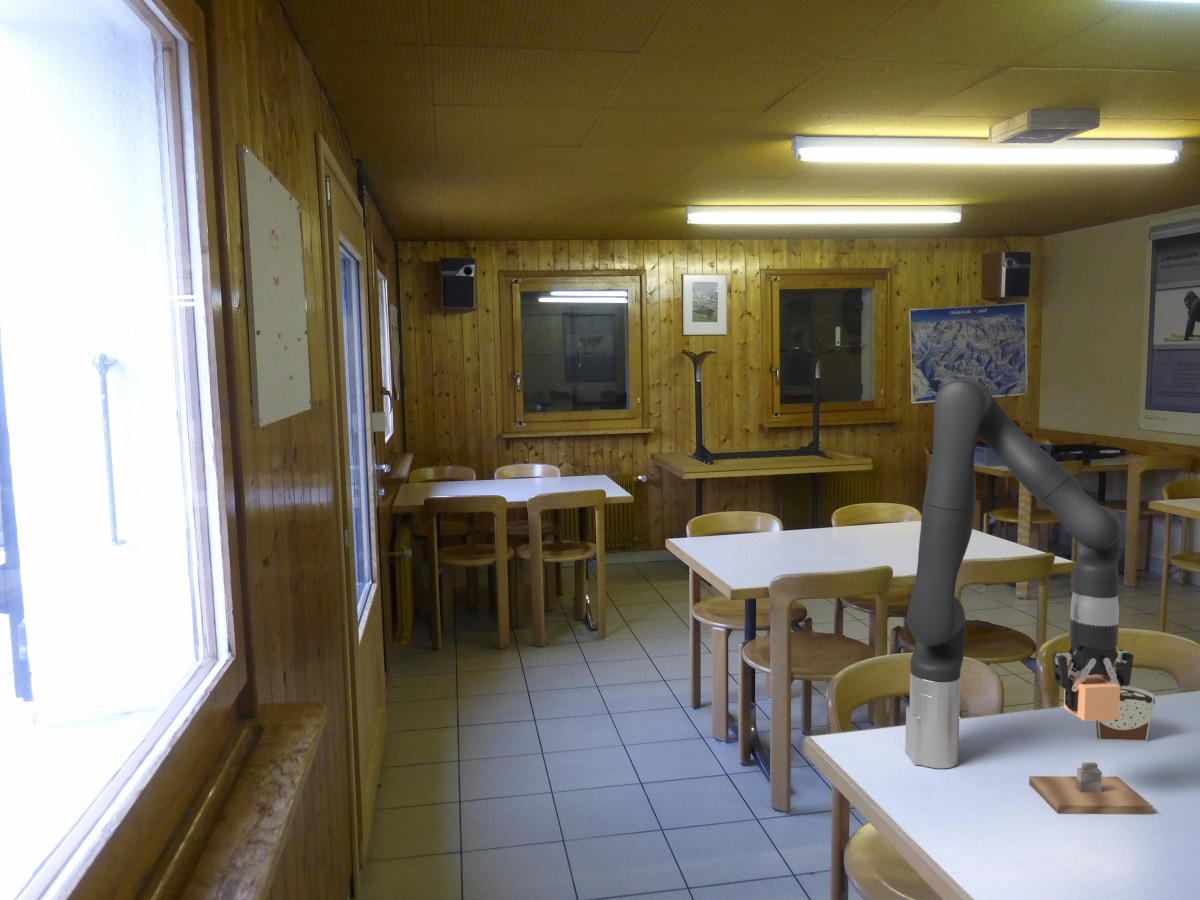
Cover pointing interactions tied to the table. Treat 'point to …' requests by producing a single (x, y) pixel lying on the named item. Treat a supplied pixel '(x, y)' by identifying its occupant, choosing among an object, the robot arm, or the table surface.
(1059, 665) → the robot arm
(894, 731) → the table surface
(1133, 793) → the base board
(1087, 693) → the orange open box
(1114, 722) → the food container
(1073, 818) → the table surface
